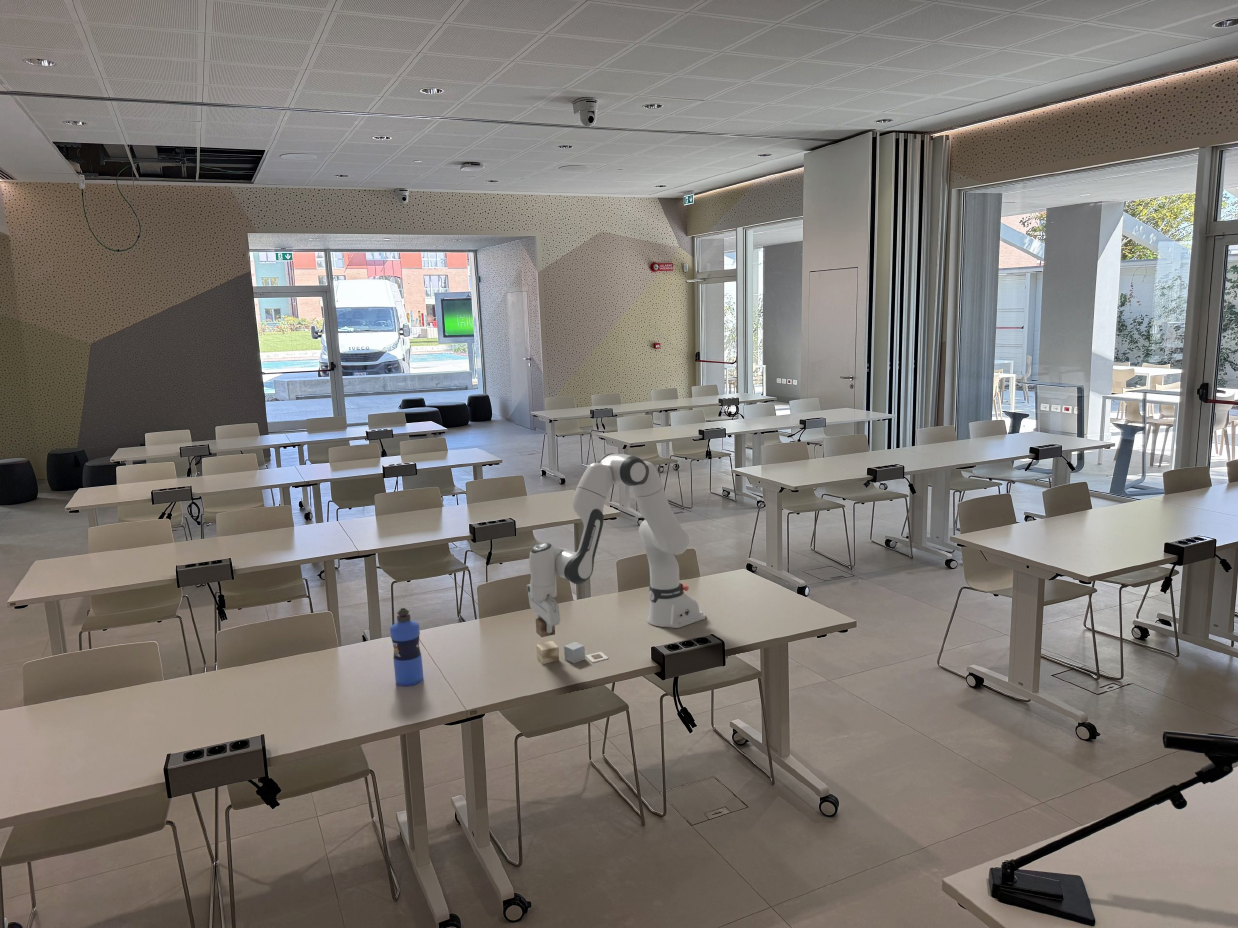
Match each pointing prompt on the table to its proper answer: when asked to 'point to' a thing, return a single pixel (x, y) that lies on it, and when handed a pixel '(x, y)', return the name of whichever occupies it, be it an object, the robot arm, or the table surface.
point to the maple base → (547, 652)
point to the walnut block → (543, 628)
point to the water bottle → (406, 650)
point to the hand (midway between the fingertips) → (545, 629)
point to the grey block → (574, 652)
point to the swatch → (596, 657)
